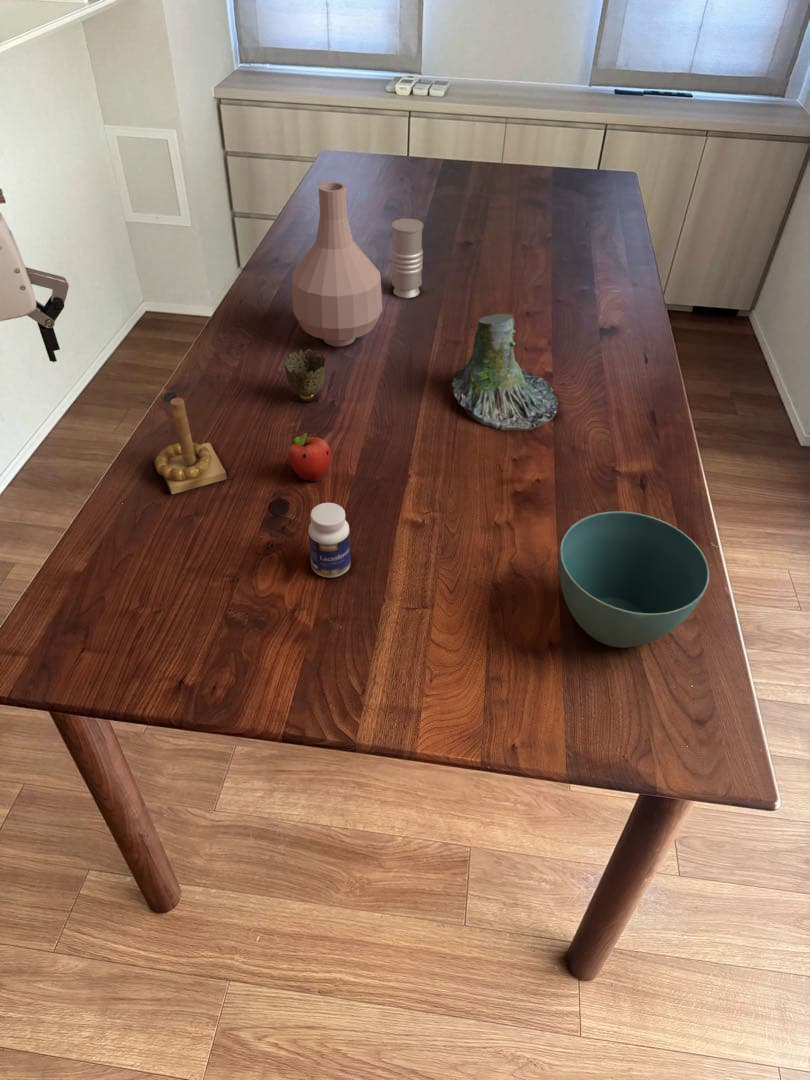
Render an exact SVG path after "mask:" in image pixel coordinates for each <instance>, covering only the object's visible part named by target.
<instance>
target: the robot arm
mask: <svg viewBox="0 0 810 1080" xmlns="http://www.w3.org/2000/svg"><path fill="white" fill-rule="evenodd" d="M6 203H7V202H6V199H5V195H4V192H3V189H2V188H0V205H1V204H6ZM33 285H34V286H37V287H41V288H45V289H49V290H52V291H51V295H50V297H49V298H48V300H47V301H46V302H45V304H42V303H40V302H39V301H38V300H36V296H35V292H34V288H33ZM69 287H70V286H69V282H68V280H67V278H66V277H64V276H62V275H58V274H54V273H50V272H46V271H42V270H38V269H35V268H31V267H28V266H26V265H25V262H24V259H23V257H22V254H21V251H20V249H19V246H18V243H17V242H16V239H15V237H14V234H13V233H12V230H11V228H10V226H9V224H8V222H7V221H6V219H5V217H4V216H3V214H2V212H0V322H4V321H9V320H13V319H19V318H22V317H26V316H27V317H28V318H31V319H32V320H33V321H35V322H36V324H37V327H38V330H39V332H40V335H41V339H42V342H43V345H44V348H45V350H46V353H47V357H48V360H49V362H51V363H57V361H58V360H57V356H56V354H55V352H56V351H60V350H61V348H60V345H59V341H58V338H57V335H56V332H55V328H54V326H55V324H56V320H57V319H58V317H59V316H60V314H61V313H62V311H63V310H64V308H65V302H66V299H67V296H68V291H69Z"/></svg>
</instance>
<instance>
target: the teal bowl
mask: <svg viewBox="0 0 810 1080" xmlns="http://www.w3.org/2000/svg"><path fill="white" fill-rule="evenodd" d="M558 555H559V556H558V572H559V582H560V588H561V591H562V594H563V597H564V600H565V601H564V602H565V603H566V606H567V608H568V610H569V612H570V613H571V616H572V618H573V619H574V620H575V622H576V623H577V624H578V625H579V626H580V628H581V629H582V630H583V631H584V632H585V633H586V634H588V636H590V637H591V638H592V639H594V640H595V641H597V642H598V643H600V644H603V645H605V646H609V647H613V648H619V649H621V648H622V649H625V648H626V649H627V648H635V647H640V646H644V645H647V644H648V645H649V644H650V643H653V642H656V641H658V640H660V639H661V638H663V637H665V636H667V635H668V634H670V633H672V631H674V630H675V629H677V628H678V627H679V626H680V625H681V624H682V623H684V622H685V620H686V619H687V618H688V617H689V616H690V615H691V614H692V613H693V612H694V610H695V609H696V607H697V606H698V604H699V603H700V601H701V600H702V598H703V596H704V594H705V593H706V590H707V588H708V586H709V582H710V568H709V564H708V561H707V558H706V556H705V554H704V552H703V551H702V550H701V548H700V547H699V546H698V545H697V543H696V542H695V541H694V540H693V539H691V537H689V535H687V534H686V533H685V532H683V531H682V530H681V529H679V528H677V527H676V526H674V525H672V524H671V523H669V522H667V521H664V520H662V519H660V518H657V517H654V516H650V515H647V514H643V513H639V512H633V511H623V510H622V511H618V510H617V511H615V510H613V511H605V512H604V511H603V512H598V513H593V514H590V515H587V516H586V517H583V518H581V519H579V520H578V521H576V522H575V523H574V524H572V525H571V526H570V527H569V528H568V530H567V531H566V532H565V533H564V535H563V537H562V540H561V543H560V548H559V554H558Z"/></svg>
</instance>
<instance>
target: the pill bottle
mask: <svg viewBox="0 0 810 1080" xmlns="http://www.w3.org/2000/svg"><path fill="white" fill-rule="evenodd" d="M307 533H308V543H309V544H308V545H309V558H310V566H311V569H312V571H313V572H314V573H315V574H316V575H318V576H320V577H321V578H327V579H328V578H329V579H332V578H338V577H340V576H342V575H344V574H345V573H347V572H348V570H349V569H350V567H351V563H352V562H351V561H352V559H351V531H350V525H349V523H348V521H347V520H346V511H345V509H344V508H343V507H342V506H341V505H340V504H337V503H334V502H323V503H320V504H317V505H315V506H314V507H313V508H312V510H311V511H310V524H309V526H308V532H307Z"/></svg>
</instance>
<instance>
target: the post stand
mask: <svg viewBox="0 0 810 1080" xmlns="http://www.w3.org/2000/svg"><path fill="white" fill-rule="evenodd" d="M169 401H170V406H171V412H172V417H173V420H174V421H173V422H174V425H175V430H176V434H177V435H176V436H177V438H178V443H179V444H180V448H181V453H182V454H179V455H175V456H173V457H172V458H171V459H169V460H168V462H167V465H168V466H169V467H171V468H176V469H184V468H188V467H191V466H193V465H195V464H196V463H198V462H199V460H200V457H199V456H198V455H195V452H194V447H193V443H194V442H193V438H192V433H191V428H190V425H189V424H190V423H189V419H188V414H187V409H186V405H185V400H184V398H182V397H174V398H172V399H171V400H169ZM200 445H202V446H204V447H206V448H207V449H208V450H209V452H210V454H211V456H212V461H211V464H210V466H209V468H208V470H206V471H205V472H204V473H202V474H201V475H199V476H198V477H195V478H191V479H187V480H170V479H168V478H166V477H164V476H163V478H164V480H165V482H166V485H167V488H168V490H169V492H170V494H171V495H175V494H179V493H182V492H186V491H189V490H193V489H196V488H200V487H204V486H207V485H212V484H215V483H219V482H222V481H225V480H227V479H228V478H227V471H226V470H225V469H224V467H223V464H222V462H221V461H220V459H219V457H218V456H217V453H216V452H215V450H214V448H213V446H212V444H211V442H205V443H202V444H200ZM157 456H158V455H156V456H155V459H156V458H157Z"/></svg>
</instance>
